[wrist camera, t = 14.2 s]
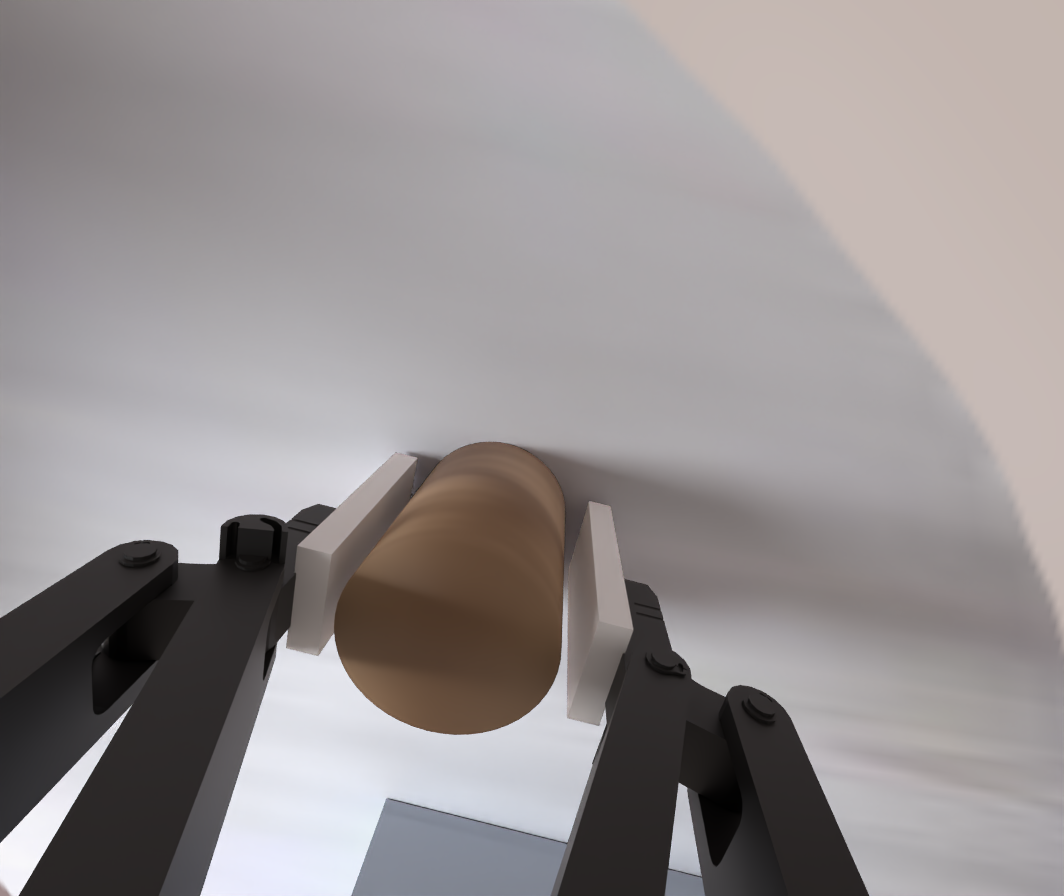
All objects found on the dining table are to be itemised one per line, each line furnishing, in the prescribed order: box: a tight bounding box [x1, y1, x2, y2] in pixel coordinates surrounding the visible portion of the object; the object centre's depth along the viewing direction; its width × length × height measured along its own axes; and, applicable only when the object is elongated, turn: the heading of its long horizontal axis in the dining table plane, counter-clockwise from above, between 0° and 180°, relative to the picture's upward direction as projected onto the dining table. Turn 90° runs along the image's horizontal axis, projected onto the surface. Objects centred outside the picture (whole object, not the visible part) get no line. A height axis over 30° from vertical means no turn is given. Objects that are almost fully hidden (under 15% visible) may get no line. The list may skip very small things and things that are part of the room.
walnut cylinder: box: [334, 442, 565, 735], centre depth 15 cm, size 5×5×7 cm
